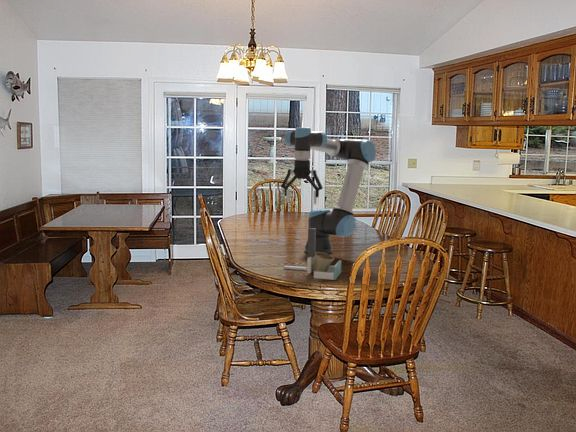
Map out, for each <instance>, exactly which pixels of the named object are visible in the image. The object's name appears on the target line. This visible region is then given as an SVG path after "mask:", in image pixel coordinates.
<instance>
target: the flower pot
mask: <svg viewBox="0 0 576 432" xmlns="http://www.w3.org/2000/svg"><path fill="white" fill-rule="evenodd" d="M314 254H315V261H314V267H313V271H312V272H313V273H314V271H318V272H327V270H328V268H329V266H331V264H332V263H333V261H334V260H335V257H333V256H332V255H330V253H328V254H326V253H323V252H315V253H314Z"/></svg>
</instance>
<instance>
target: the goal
mask: <svg viewBox="0 0 576 432" xmlns="http://www.w3.org/2000/svg"><path fill="white" fill-rule="evenodd" d="M340 274H342V260H341V259H339V260H338V261H336V263H335V264H334V265H330V266H329V268H328V270H327V272H318V271H314V272H313V279H318V280H319V279H320V280H332V281H336V280H337V278H338V277H339V276H340Z"/></svg>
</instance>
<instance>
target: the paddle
mask: <svg viewBox="0 0 576 432" xmlns="http://www.w3.org/2000/svg"><path fill="white" fill-rule="evenodd" d="M307 239H308V253H307V257H306V258H307V260H306V262H307V263H306V265H307V266H306V267H307V271H306V274H311V273H312V272H313V267H314V261H315V254H314V253H315V248H316V228H309V229H307Z"/></svg>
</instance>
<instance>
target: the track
mask: <svg viewBox="0 0 576 432" xmlns="http://www.w3.org/2000/svg"><path fill="white" fill-rule="evenodd" d="M283 269H284V270H291V271H292V270H294V271H306V272H307V266H294V265H284V266H283Z"/></svg>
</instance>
